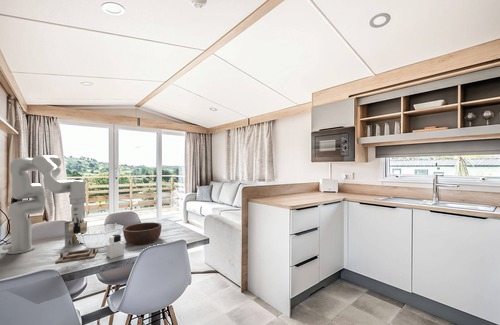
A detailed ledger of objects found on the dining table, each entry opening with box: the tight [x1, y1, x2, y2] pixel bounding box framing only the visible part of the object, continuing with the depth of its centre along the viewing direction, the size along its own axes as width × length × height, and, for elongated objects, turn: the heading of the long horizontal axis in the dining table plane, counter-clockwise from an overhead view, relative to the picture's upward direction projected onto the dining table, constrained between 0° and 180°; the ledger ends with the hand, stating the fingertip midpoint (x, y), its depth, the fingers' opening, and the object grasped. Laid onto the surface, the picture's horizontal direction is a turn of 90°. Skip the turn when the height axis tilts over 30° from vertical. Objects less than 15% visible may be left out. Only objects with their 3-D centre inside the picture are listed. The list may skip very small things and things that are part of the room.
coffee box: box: [64, 219, 85, 247], centre depth 162 cm, size 9×6×16 cm
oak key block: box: [69, 220, 88, 234], centre depth 139 cm, size 4×8×6 cm, turn 114°
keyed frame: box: [54, 247, 99, 264], centre depth 139 cm, size 18×13×4 cm
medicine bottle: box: [105, 234, 125, 259], centre depth 140 cm, size 7×7×12 cm
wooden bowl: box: [122, 221, 162, 246], centre depth 167 cm, size 25×25×10 cm
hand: (78, 231), depth 139 cm, fingers closed on oak key block, 4 cm apart
